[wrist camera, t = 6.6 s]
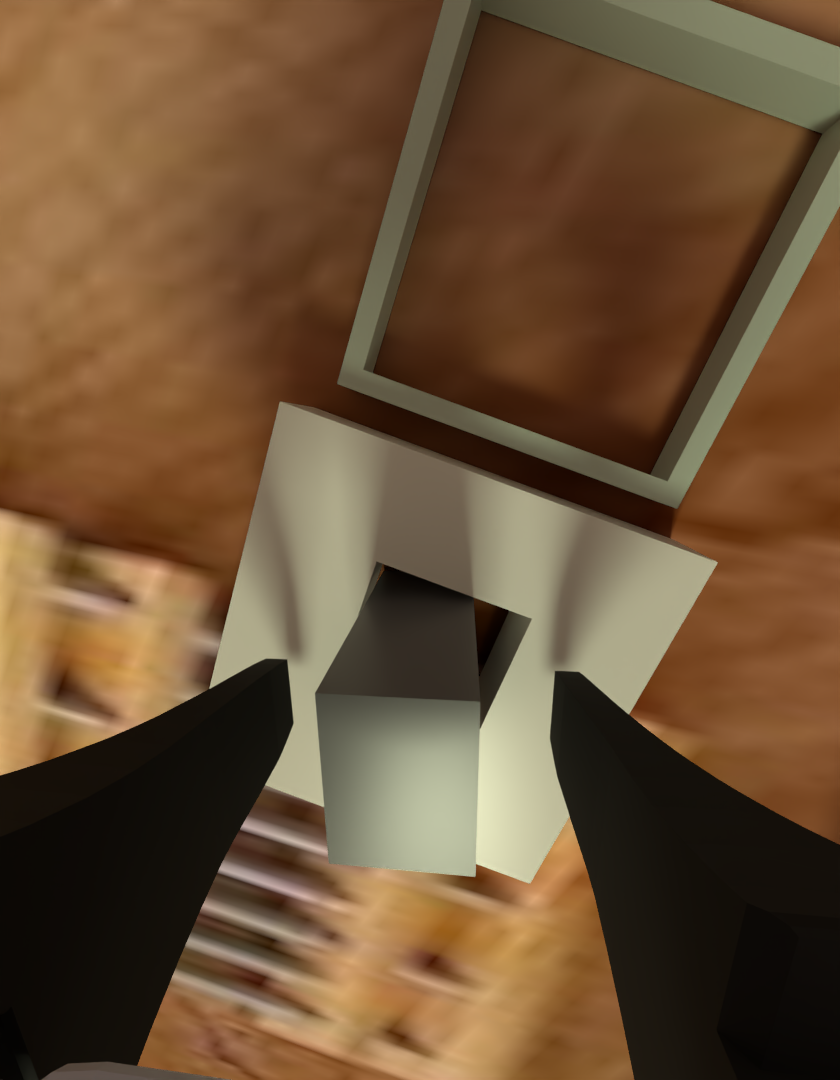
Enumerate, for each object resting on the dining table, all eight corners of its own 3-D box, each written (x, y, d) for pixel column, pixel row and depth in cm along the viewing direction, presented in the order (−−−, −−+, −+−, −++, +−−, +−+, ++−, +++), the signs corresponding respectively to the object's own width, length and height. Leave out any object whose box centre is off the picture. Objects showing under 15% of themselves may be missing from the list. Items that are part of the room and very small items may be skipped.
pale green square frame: (860, 113, 10) (910, 72, 9) (657, 502, 13) (677, 509, 12) (467, -29, 10) (468, -87, 9) (347, 388, 13) (337, 383, 12)
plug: (471, 572, 14) (480, 702, 7) (469, 678, 15) (475, 876, 8) (383, 571, 14) (314, 693, 8) (387, 674, 15) (328, 863, 9)
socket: (671, 538, 13) (717, 562, 11) (519, 817, 16) (529, 883, 14) (313, 406, 13) (280, 401, 11) (232, 710, 16) (192, 758, 14)
